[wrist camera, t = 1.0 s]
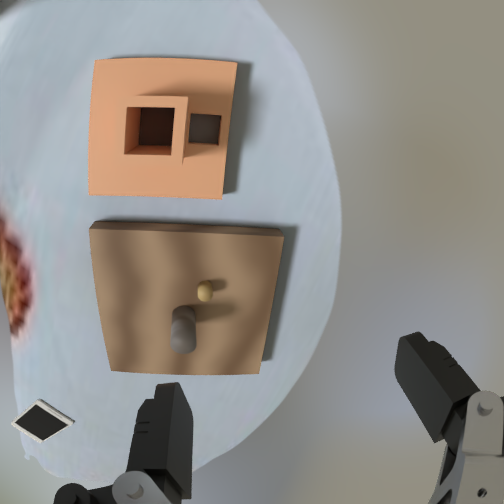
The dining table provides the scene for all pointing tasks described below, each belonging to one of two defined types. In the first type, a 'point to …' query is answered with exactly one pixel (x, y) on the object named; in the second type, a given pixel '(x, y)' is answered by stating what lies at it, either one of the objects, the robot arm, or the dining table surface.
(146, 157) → the flange plate
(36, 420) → the smartphone
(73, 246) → the dining table surface
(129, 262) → the post base
